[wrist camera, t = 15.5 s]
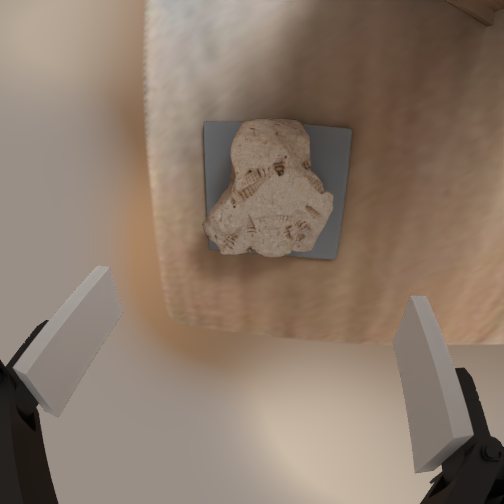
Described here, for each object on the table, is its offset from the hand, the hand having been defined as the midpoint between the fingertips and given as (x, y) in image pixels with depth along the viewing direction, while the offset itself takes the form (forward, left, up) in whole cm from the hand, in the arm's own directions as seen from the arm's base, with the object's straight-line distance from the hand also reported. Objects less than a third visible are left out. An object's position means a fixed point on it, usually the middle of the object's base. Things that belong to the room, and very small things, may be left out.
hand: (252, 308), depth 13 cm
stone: (0, -1, -16) cm, 16 cm away
